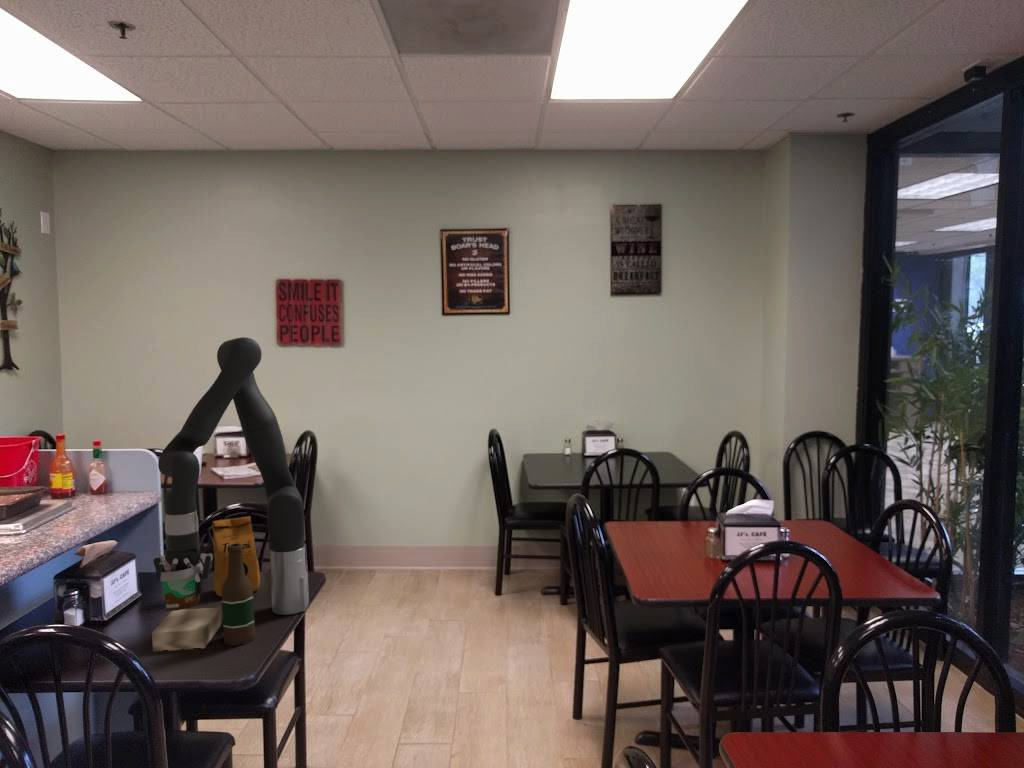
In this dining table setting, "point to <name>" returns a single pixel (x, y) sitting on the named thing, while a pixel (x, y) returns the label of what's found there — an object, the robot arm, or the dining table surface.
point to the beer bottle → (237, 601)
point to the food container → (180, 588)
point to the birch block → (186, 629)
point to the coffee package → (224, 536)
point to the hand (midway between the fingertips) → (185, 595)
